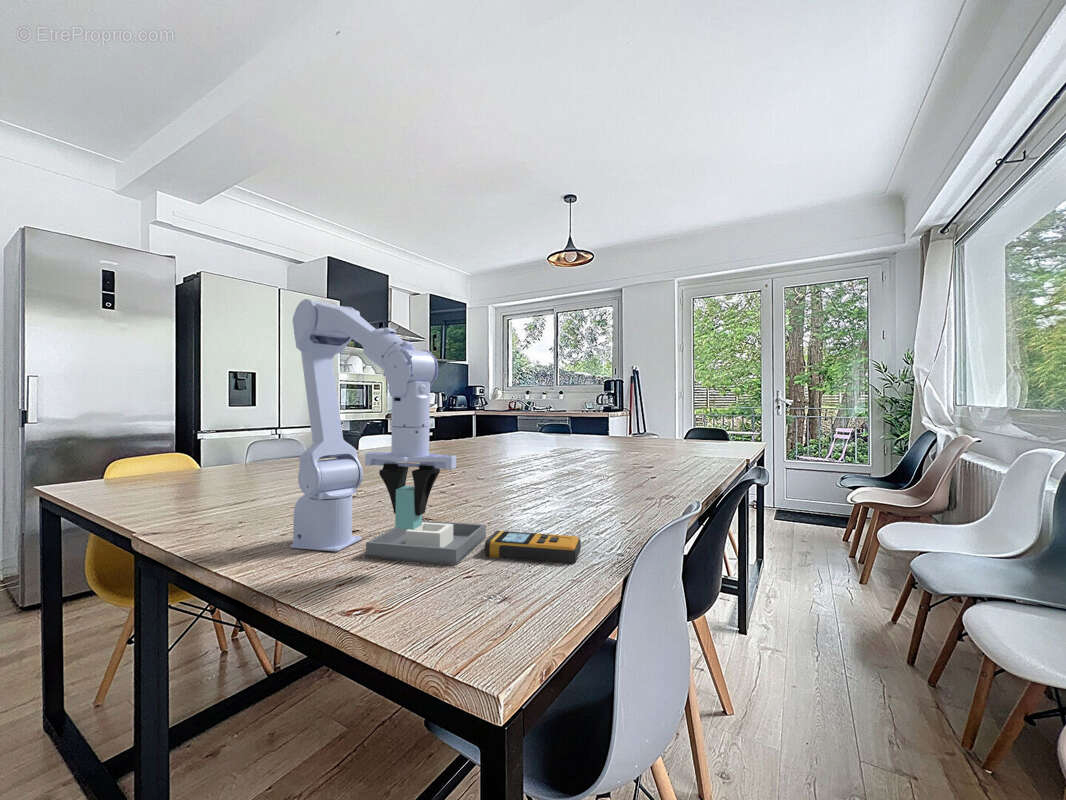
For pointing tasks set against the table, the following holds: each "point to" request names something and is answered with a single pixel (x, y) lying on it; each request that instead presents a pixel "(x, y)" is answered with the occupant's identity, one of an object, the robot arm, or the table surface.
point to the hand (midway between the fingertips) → (409, 513)
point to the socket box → (428, 542)
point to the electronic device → (533, 547)
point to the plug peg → (406, 509)
